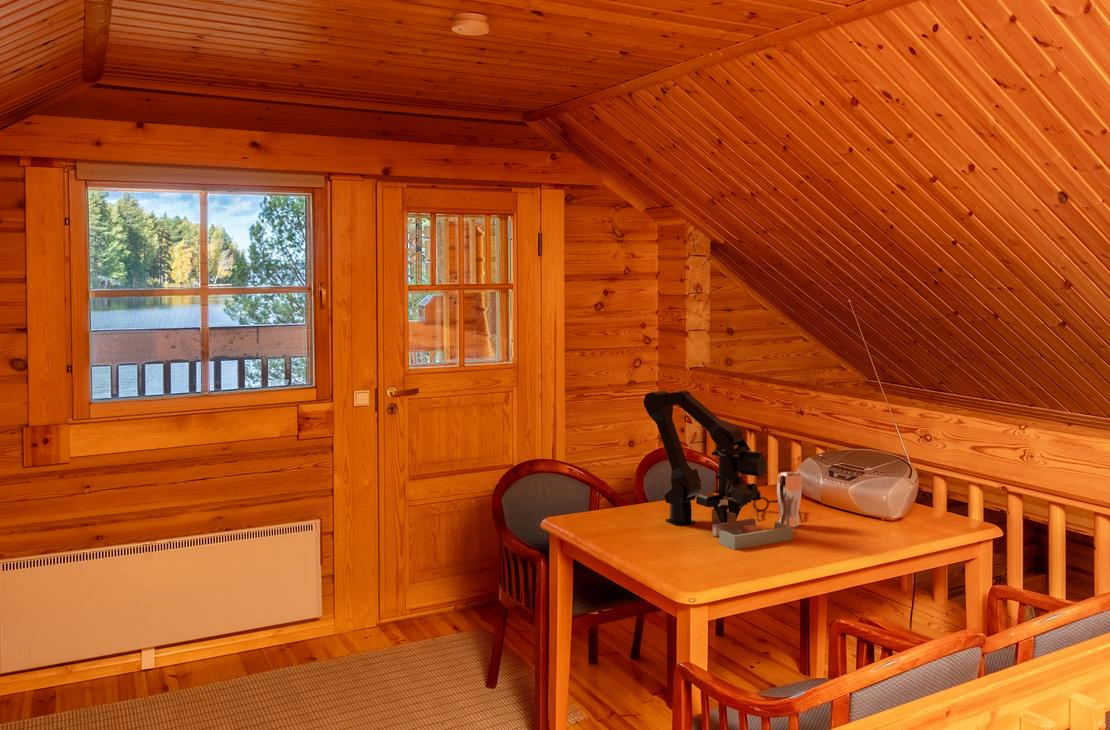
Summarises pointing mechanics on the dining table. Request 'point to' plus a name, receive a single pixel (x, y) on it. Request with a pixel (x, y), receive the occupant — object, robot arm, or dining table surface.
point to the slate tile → (732, 531)
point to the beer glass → (789, 497)
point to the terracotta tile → (750, 528)
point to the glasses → (767, 507)
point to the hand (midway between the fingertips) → (728, 527)
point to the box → (757, 537)
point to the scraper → (728, 522)
